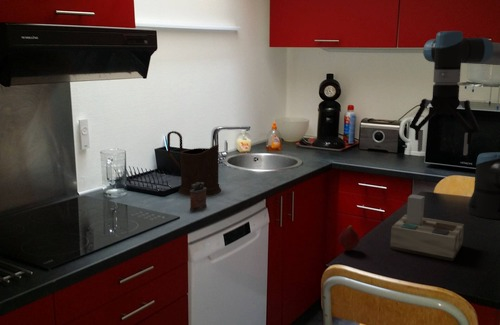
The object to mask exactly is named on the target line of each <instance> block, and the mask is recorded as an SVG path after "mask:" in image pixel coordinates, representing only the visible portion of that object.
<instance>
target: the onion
mask: <svg viewBox="0 0 500 325" xmlns="http://www.w3.org/2000/svg"><path fill="white" fill-rule="evenodd" d="M338 237H339V238H338V241H339V244H340V245H341V247H342V248H344V249H345V250H346V251H347V252H351V251H352V250H354V249H355V248H356V247H357V246H358V245H359V243H360V237H359V234H358V233H357V231H356V230H355V229H354V228H353V226H352V225H348V226H347V227H346V228H344V229H343V230H342V231H341V233H340V234H339V236H338Z"/></svg>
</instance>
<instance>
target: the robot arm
mask: <svg viewBox="0 0 500 325" xmlns="http://www.w3.org/2000/svg"><path fill="white" fill-rule="evenodd" d="M463 35H464V33H463V31H461V30H449V31H448V30H445V31H442V30H441V31H439V32H437V33H436V37H435V38H432V39H429V40H427V41H426V43H425V44H424V46H423V52H422V53H423V57H424V59H425V60H426V61H428V62H429V63H434V67H433V68H434V69H433V80H432V81H433V83H434V84H433V85H432V95H431V96H432V98H431V99H427V98H423V99H421V100H420V107H419V108H418V109H417V112H416V113H415V115H414V117H413V119H412V121H411V122H410V124H409V126H408V127H409V128H410V129H413V130H414V131H415V132H414V140H415V141H417V152H422V151H423V140H424V139H423V138H424V130H423V129H422V128H423V127H424V126H425V125H426V124H427V123H428V122H429V121H430V120H431V119H432V117H434V116H435V114H438V115H447V116H451V115H453V117H455V118H456V120H457V121H458V122H459V124H460V125H461V126H462V127H463V129H464V130H465V131H466V132H465V133H464V142H463V151H462V152H463V154H462V155H463V156H467V155H468V151H469V150H468V149H469V145H472V143H473V135H474V134H475V133H478V132H480V129H481V128H480V126H479V124H478V122H477V120H476V117H475V114H474V113H473V110H472V109H471V104H470V103H471V101H470V100H469V99H466V100H460V85H459V84H458V83H460V82H461V70H462V68H461V67H462V64H468V65H469V64H471V65H489V66H492V65H493V66H500V42H492V41H491V40H490V39H489V38H486V37H480V36H479V37H464V36H463ZM429 105H430V106H431V107H432V110H430V112H428V114H427V115H426V116H425V117H424V118H423V119H422V120H421V121H420V122H419V120H420V119H421V117H422V114H423V113H424V112H425V109H426V108H427V107H429ZM459 106H461V107H462V109H464V111H465V114H466V116H467V118H468V120H469V122H470V124H471V126H470V124H469V123H468V122H467V120H466V119H465V118H464V116H462V114H461V113H460V111H459V110H458V108H459ZM418 122H419V123H418ZM474 175H475V176H474V185H473V192H472V194H471V197H470V199H469V201H468V203H467V205H466V212H467V213H468V214H470V215H473V216H476V217H477V218H478V217H479V218H482V219H483V218H484V219H492V220H500V151H497V152H496V151H495V152H494V151H493V152H481V153H479V154H478V156H477V158H476V163H475V174H474Z"/></svg>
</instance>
